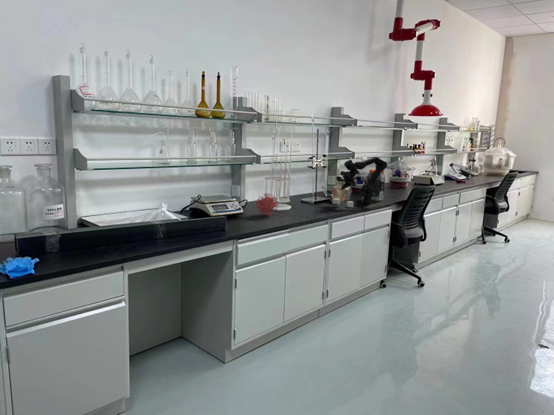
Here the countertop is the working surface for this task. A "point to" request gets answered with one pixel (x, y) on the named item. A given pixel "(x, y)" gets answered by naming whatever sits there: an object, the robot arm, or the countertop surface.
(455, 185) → the countertop surface
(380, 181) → the supplement tub
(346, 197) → the stack of blocks
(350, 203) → the grey cube
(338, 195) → the beech block
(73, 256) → the countertop surface
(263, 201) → the virus model
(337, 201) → the sage cube
